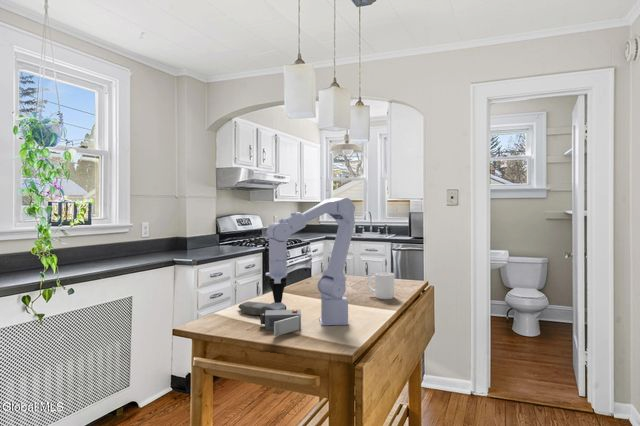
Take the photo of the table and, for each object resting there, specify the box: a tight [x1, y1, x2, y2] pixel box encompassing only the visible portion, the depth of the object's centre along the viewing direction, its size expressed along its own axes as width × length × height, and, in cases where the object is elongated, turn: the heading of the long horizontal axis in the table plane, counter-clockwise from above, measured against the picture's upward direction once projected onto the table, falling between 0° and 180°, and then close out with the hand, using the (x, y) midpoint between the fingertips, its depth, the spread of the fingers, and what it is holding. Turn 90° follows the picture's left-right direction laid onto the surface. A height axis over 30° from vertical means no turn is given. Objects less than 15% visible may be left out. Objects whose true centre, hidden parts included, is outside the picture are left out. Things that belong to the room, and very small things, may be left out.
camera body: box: [260, 309, 302, 331], centre depth 148 cm, size 14×6×6 cm, turn 94°
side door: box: [273, 314, 302, 337], centre depth 141 cm, size 11×1×5 cm, turn 134°
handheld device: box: [238, 301, 287, 316], centre depth 165 cm, size 10×20×5 cm, turn 62°
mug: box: [366, 271, 395, 300], centre depth 190 cm, size 12×8×10 cm
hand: (278, 300), depth 142 cm, fingers open, 4 cm apart
